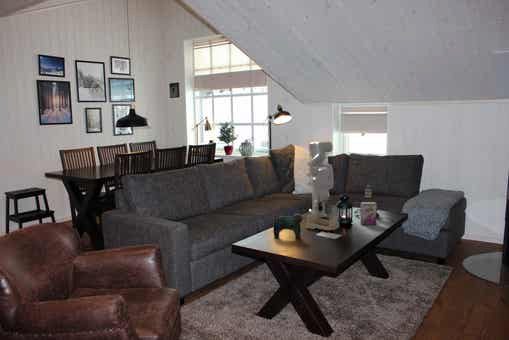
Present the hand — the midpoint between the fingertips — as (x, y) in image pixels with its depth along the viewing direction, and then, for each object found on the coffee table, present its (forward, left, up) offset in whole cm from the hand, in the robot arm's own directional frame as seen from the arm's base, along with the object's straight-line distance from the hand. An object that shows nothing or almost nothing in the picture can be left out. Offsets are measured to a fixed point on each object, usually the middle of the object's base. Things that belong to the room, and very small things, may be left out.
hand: (322, 209), depth 309 cm
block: (0, 0, -2) cm, 2 cm away
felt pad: (+13, -14, -13) cm, 24 cm away
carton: (0, 0, -13) cm, 13 cm away
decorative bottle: (+13, +48, -14) cm, 51 cm away
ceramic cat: (-6, -35, -14) cm, 38 cm away
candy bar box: (+23, +27, -14) cm, 38 cm away
